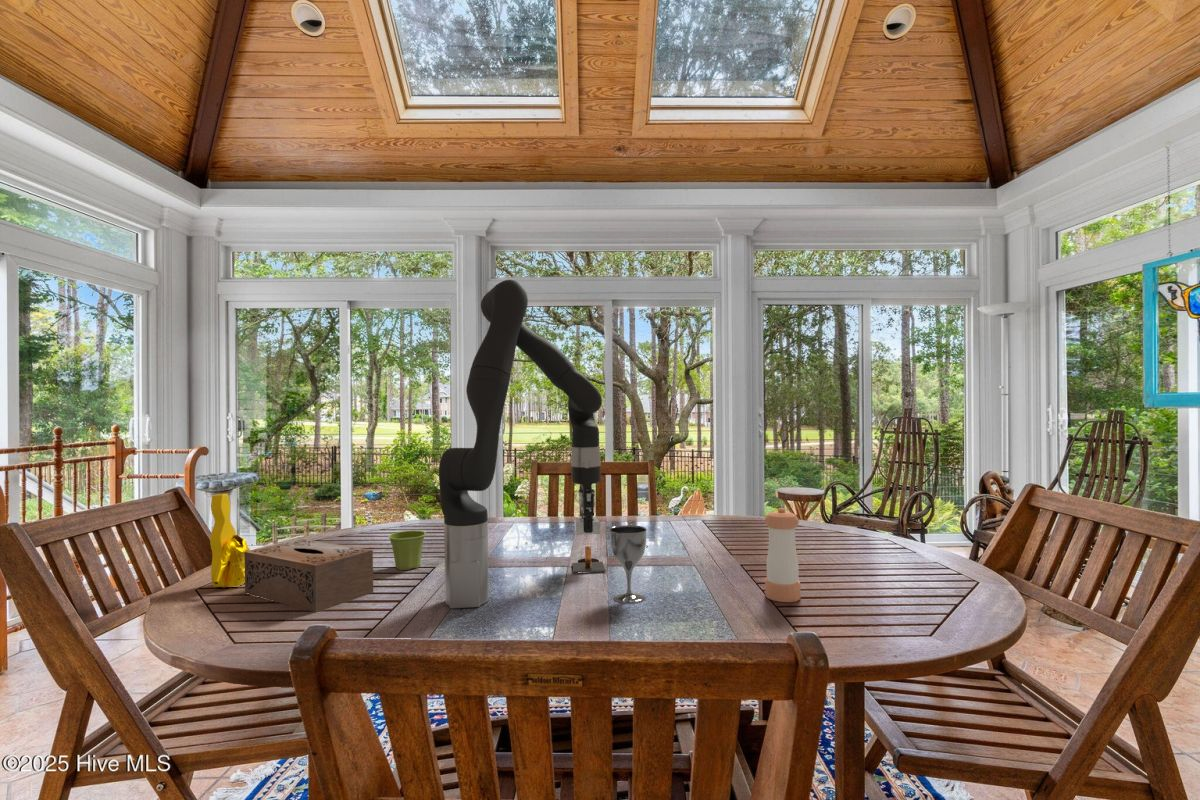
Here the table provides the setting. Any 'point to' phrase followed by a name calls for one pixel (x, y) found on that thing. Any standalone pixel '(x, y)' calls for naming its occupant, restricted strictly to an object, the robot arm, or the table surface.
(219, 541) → the figure statuette
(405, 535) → the plant pot
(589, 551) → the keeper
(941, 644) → the table surface
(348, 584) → the tissue box cover
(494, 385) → the robot arm
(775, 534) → the pepper shaker
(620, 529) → the wine glass
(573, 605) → the table surface
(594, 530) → the grey square block
